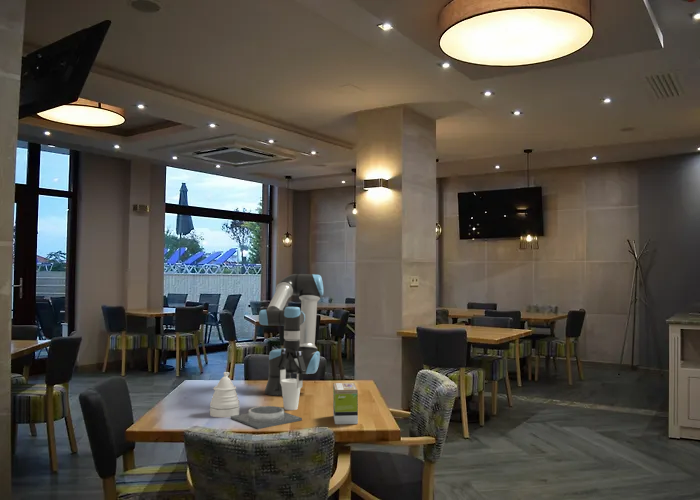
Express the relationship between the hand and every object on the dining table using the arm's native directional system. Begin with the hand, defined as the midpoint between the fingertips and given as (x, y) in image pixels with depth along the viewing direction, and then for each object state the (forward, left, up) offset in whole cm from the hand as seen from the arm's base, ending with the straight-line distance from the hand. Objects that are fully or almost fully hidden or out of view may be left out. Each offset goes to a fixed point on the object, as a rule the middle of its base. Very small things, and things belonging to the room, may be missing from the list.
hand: (290, 385), depth 266 cm
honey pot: (+29, -10, -11) cm, 32 cm away
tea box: (-6, +32, -11) cm, 34 cm away
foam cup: (0, 0, -11) cm, 11 cm away
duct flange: (+20, +10, -11) cm, 24 cm away
